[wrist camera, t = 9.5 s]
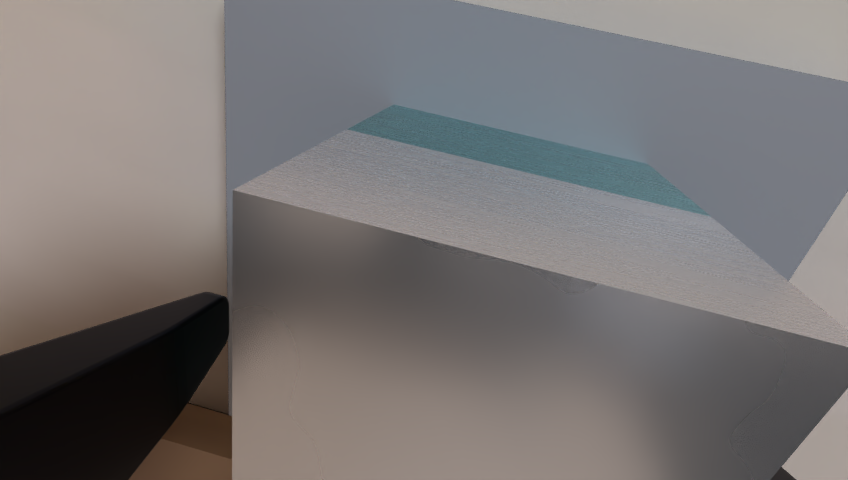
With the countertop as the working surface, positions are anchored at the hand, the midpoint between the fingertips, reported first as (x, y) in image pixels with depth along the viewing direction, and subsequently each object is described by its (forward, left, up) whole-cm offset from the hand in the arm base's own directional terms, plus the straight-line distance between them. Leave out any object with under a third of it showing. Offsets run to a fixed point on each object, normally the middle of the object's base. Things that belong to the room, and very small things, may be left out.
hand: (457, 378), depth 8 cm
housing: (0, 0, -2) cm, 2 cm away
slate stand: (0, 0, -4) cm, 4 cm away
